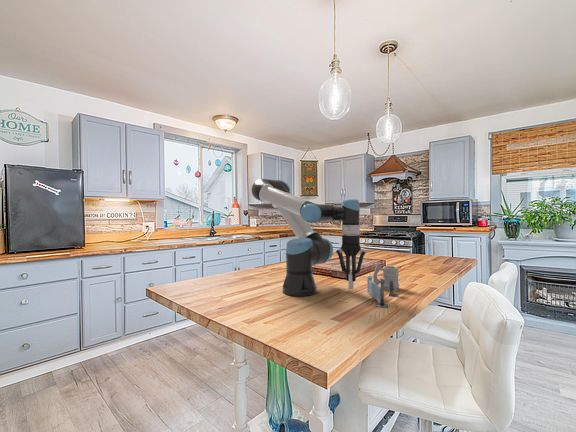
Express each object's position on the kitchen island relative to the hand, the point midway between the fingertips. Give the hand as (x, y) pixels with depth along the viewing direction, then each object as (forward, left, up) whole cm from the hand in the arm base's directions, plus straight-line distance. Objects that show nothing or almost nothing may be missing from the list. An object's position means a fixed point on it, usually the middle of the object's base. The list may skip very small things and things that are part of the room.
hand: (351, 288), depth 122 cm
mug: (+13, +14, -2) cm, 19 cm away
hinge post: (+15, -12, -2) cm, 19 cm away
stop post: (+16, +4, -2) cm, 17 cm away
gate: (+11, -4, -1) cm, 11 cm away
